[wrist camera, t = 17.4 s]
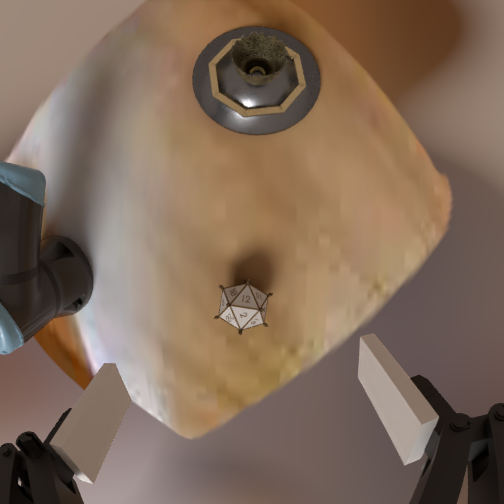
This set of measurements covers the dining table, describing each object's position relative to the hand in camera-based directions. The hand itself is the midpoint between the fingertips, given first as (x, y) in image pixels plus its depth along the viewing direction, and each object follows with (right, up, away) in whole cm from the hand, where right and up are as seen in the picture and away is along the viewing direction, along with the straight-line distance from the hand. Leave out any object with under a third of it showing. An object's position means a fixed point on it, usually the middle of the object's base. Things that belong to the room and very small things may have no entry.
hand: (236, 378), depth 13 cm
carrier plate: (+2, +34, +25) cm, 42 cm away
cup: (+2, +34, +24) cm, 41 cm away
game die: (-1, -1, +33) cm, 33 cm away
